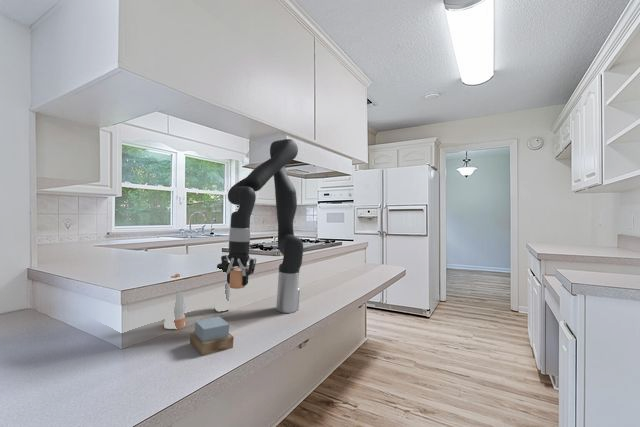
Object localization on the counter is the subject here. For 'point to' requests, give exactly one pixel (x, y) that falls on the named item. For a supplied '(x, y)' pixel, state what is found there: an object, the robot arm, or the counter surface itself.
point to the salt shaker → (179, 308)
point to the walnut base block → (211, 344)
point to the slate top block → (211, 329)
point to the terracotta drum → (236, 279)
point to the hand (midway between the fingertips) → (237, 284)
